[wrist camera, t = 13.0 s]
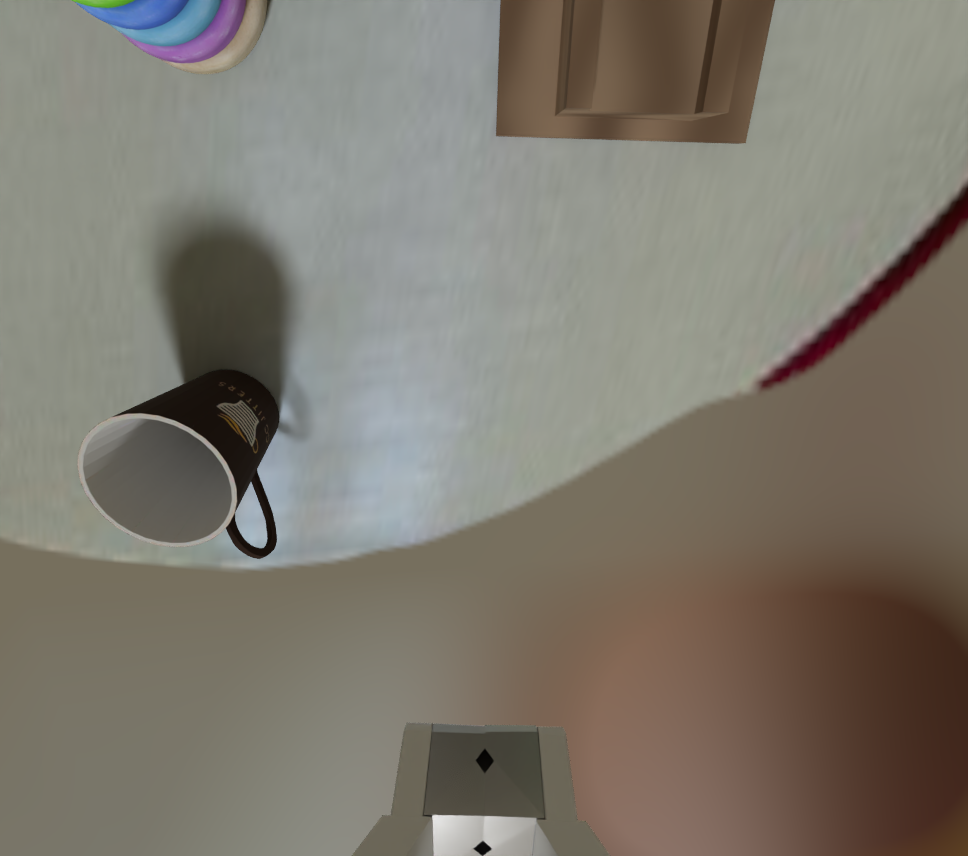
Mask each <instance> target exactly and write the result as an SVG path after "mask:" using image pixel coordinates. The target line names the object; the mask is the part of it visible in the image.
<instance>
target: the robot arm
mask: <svg viewBox="0 0 968 856" xmlns="http://www.w3.org/2000/svg"><path fill="white" fill-rule="evenodd" d="M352 856H610V854H609V853H608V852H607V850H606V849H605V847H604V846H603V844H602V843H601V842H600V840H599V839H598V838H597V836H596V835H595V833H594V832H593V831H592V829H591V828H590V826H589V825H588V823H587V822H586V821H578V819H577V812H576V805H575V797H574V789H573V783H572V775H571V768H570V760H569V752H568V745H567V738H566V733H565V731H564V729H563V727H536V726H523V725H485V726H475V725H453V724H433V723H406V726H405V729H404V733H403V739H402V746H401V752H400V759H399V765H398V771H397V778H396V784H395V791H394V797H393V804H392V810H391V815H382V817H381V818H380V819H379V821H378V822H377V823H376V825H375V826H374V827H373V829H372V830H371V831H370V832H369V834H368V835H367V836H366V838H365V839H364V841H363V842H362V843H361V844H360V846H359V847H358V848H357V850H356V851H355V852H354V854H353V855H352Z"/></svg>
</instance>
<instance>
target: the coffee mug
mask: <svg viewBox="0 0 968 856" xmlns="http://www.w3.org/2000/svg"><path fill="white" fill-rule="evenodd" d="M278 423H279V413H278V408H277V405H276V403H275V400H274V398H273V397H272V395H271V394H270V392H269V391H268V390H267V389H266V388H265V386H264V385H263V384H261V383H260V382H259V381H257V380H256V379H255V378H253V377H251V376H249V375H247V374H245V373H242V372H239V371H234V370H217V371H212V372H209V373H207V374H205V375H203V376H201V377H199V378H196V379H194V380H192V381H190V382H188V383H185V384H183V385H181V386H179V387H177V388H174V389H172V390H170V391H168V392H166V393H164V394H161V395H159V396H157V397H155V398H153V399H150V400H148V401H146V402H144V403H142V404H139V405H137V406H135V407H133V408H131V409H129V410H126V411H124V412H122V413H120V414H118V415H115V416H113V417H111V418H109V419H107V420H105V421H103V422H101V423H99V424H98V425H96V426H95V427H94V428H93V429H92V430H91V431H89V433H88V434H87V436H86V437H85V439H84V440H83V441H82V444H81V447H80V450H79V453H78V472H79V477H80V481H81V484H82V486H83V488H84V491H85V493H86V495H87V496H88V498H89V499H90V501H91V502H92V504H93V505H94V507H95V508H96V509H97V510H98V511H99V512H100V513H101V514H102V515H103V516H104V517H105V518H106V519H107V520H108V521H110V522H111V523H112V524H113V525H114V526H116V527H117V528H119V529H121V530H122V531H124V532H125V533H127V534H129V535H131V536H133V537H136V538H138V539H140V540H142V541H145V542H149V543H152V544H156V545H161V546H169V547H188V546H193V545H198V544H201V543H204V542H206V541H209V540H211V539H213V538H214V537H216V536H217V535H219V534H220V533H221V532H222V531H223V530H224V529H225V528H226V529H227V532H228V534H229V536H230V538H231V540H232V542H233V543H234V545H235V546H236V547H237V548H238V549H239V550H240V551H242V552H243V553H244V554H246V555H248V556H250V557H253V558H257V559H261V558H263V557H265V556H267V555H269V554H270V553H271V552H272V551H273V550H274V549H275V546H276V542H277V535H276V526H275V522H274V517H273V513H272V510H271V507H270V504H269V502H268V499H267V496H266V494H265V491H264V488H263V486H262V483H261V481H260V478H259V475H258V473H257V468H258V466H259V464H260V462H261V460H262V458H263V456H264V454H265V452H266V450H267V448H268V446H269V444H270V442H271V440H272V438H273V437H274V435H275V433H276V431H277V428H278ZM250 482H252V484H253V487H254V490H255V492H256V495H257V497H258V500H259V503H260V506H261V508H262V511H263V514H264V517H265V520H266V528H267V537H268V539H267V543H266V546H265V547H264V548H256V547H254V546H251V545H250V544H249V543H247V542H246V540H245V539H244V538H243V537H242V535H241V534H240V532H239V530H238V528H237V525H236V522H235V512H236V510H237V508H238V506H239V504H240V502H241V500H242V498H243V496H244V494H245V492H246V490H247V488H248V486H249V484H250Z"/></svg>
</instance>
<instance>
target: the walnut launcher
mask: <svg viewBox="0 0 968 856" xmlns="http://www.w3.org/2000/svg"><path fill="white" fill-rule="evenodd" d="M774 2H775V0H501V5H500V36H499V66H498V96H497V127H496V136H508V137H541V138H574V139H606V140H639V141H672V142H704V143H737V144H739V143H746V138H747V133H748V128H749V123H750V119H751V114H752V109H753V104H754V99H755V94H756V89H757V85H758V80H759V75H760V70H761V65H762V60H763V56H764V51H765V46H766V41H767V36H768V31H769V27H770V22H771V17H772V12H773V7H774Z"/></svg>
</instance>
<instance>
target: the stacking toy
mask: <svg viewBox="0 0 968 856" xmlns="http://www.w3.org/2000/svg"><path fill="white" fill-rule="evenodd" d="M72 1H74V2H75V3H77V4H78V5H79V6H80V7H82V8H83V9H84V10H86V11H87V12H88V13H90V14H91V15H93V16H95V17H96V18H98V19H100V20H102V21H104V22H106V23H108V24H110V25H111V26H112V27H114V28H115V29H116V30H118V31H119V32H121V33H122V34H123V35H124V36H125V37H126V38H127V39H128V40H129V41H130V42H132V43H133V44H134V45H135V46H137V47H138V48H140V49H141V50H143V51H144V52H146V53H148V54H150V55H152V56H154V57H157V58H159V59H161V60H162V61H164V62H166V63H168V64H170V65H171V66H173V67H176V68H178V69H180V70H184V71H187V72H191V73H197V74H213V73H219V72H222V71H225V70H228V69H231V68H232V67H234V66H236V65H237V64H239V63H240V62H242V61H243V60H244V59H245V58H246V57H247V56H248V55H249V53H250V52H251V51H252V49H253V48H254V46H255V45H256V43H257V41H258V39H259V37H260V35H261V33H262V29H263V26H264V22H265V18H266V12H267V0H72Z"/></svg>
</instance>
